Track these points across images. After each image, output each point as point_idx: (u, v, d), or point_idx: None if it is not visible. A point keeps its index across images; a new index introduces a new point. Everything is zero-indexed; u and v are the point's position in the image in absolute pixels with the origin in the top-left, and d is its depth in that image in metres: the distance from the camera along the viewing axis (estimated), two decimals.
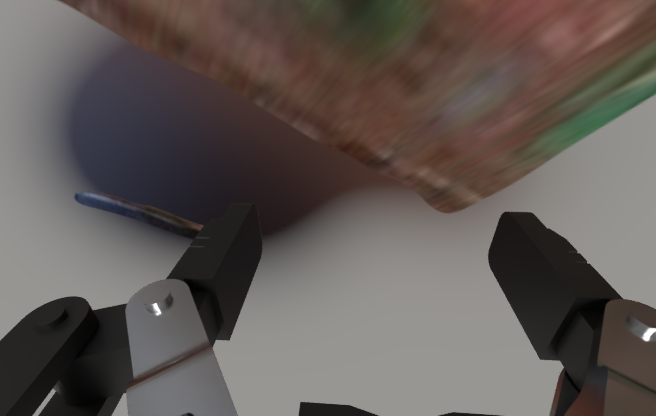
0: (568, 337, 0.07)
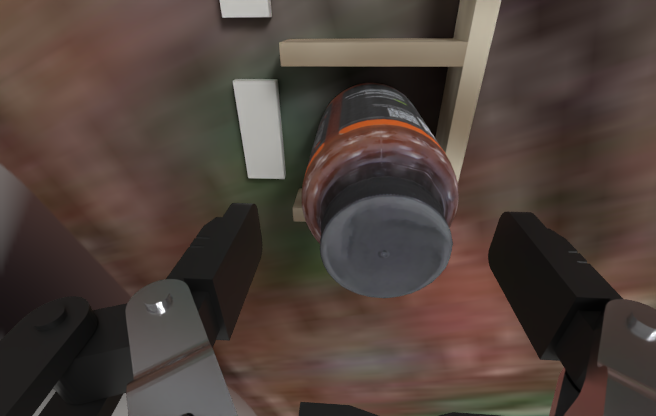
0: (568, 337, 0.07)
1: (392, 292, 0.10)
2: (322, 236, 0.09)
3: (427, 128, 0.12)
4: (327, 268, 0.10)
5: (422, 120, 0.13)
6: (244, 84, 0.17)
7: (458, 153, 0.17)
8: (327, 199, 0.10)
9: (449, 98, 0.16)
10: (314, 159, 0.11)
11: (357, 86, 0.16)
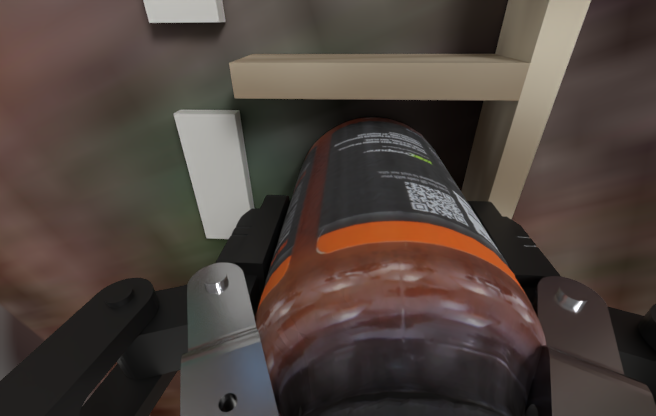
0: None
1: None
2: None
3: (474, 217, 0.07)
4: None
5: (459, 192, 0.08)
6: (191, 117, 0.12)
7: None
8: (290, 397, 0.05)
9: (488, 142, 0.11)
10: (270, 295, 0.06)
11: (353, 124, 0.11)
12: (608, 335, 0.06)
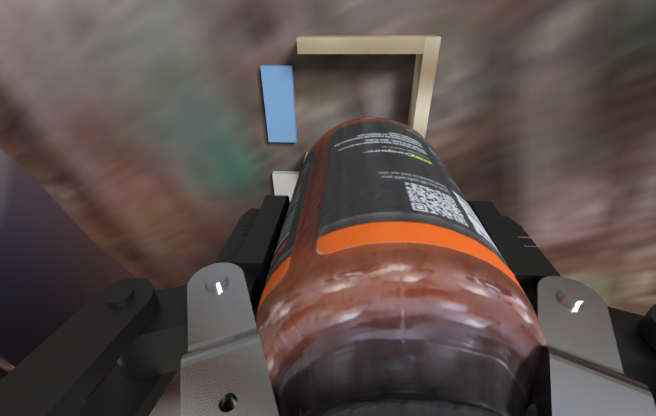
0: None
1: None
2: None
3: (474, 218, 0.07)
4: None
5: (459, 193, 0.08)
6: None
7: None
8: (290, 397, 0.05)
9: None
10: (270, 295, 0.06)
11: (353, 124, 0.11)
12: (608, 335, 0.06)
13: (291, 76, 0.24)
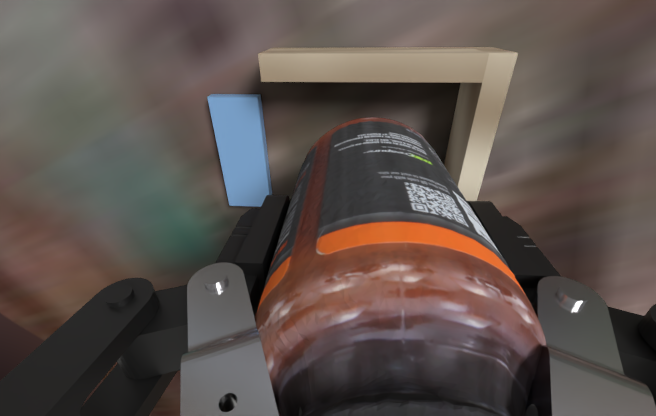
0: None
1: None
2: None
3: (474, 218, 0.07)
4: None
5: (459, 193, 0.08)
6: None
7: None
8: (290, 397, 0.05)
9: None
10: (269, 295, 0.06)
11: (353, 124, 0.11)
12: (608, 335, 0.06)
13: (258, 112, 0.15)
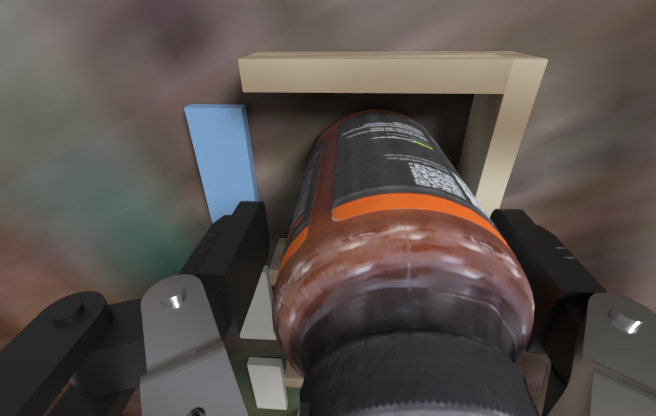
0: (554, 330, 0.07)
1: None
2: None
3: (471, 195, 0.08)
4: None
5: (458, 175, 0.09)
6: (256, 366, 0.22)
7: None
8: (311, 342, 0.06)
9: None
10: (290, 259, 0.07)
11: (358, 115, 0.12)
12: None
13: (242, 125, 0.13)
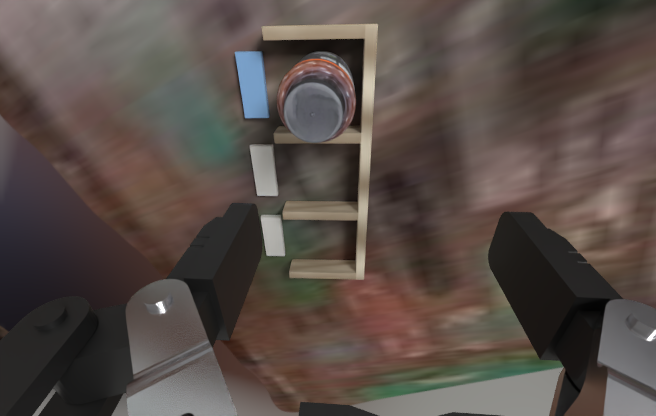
0: (568, 337, 0.07)
1: (319, 138, 0.21)
2: (284, 106, 0.20)
3: (342, 66, 0.24)
4: (287, 125, 0.21)
5: (343, 65, 0.25)
6: (266, 218, 0.38)
7: (362, 250, 0.37)
8: (287, 96, 0.22)
9: (357, 226, 0.37)
10: (282, 79, 0.22)
11: (312, 52, 0.28)
12: None
13: (261, 60, 0.29)
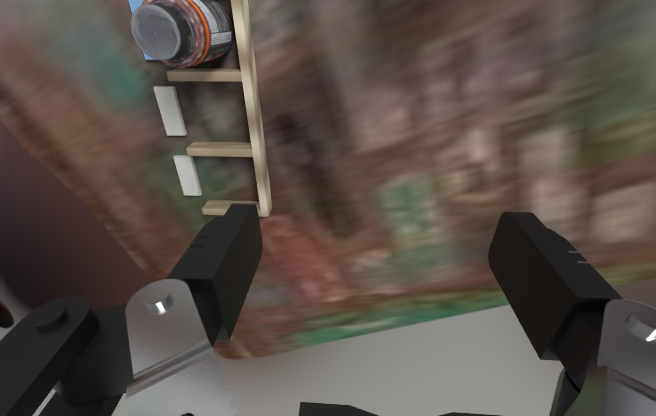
0: (568, 337, 0.07)
1: (165, 55, 0.26)
2: None
3: (198, 2, 0.28)
4: (137, 43, 0.25)
5: (204, 3, 0.29)
6: (178, 158, 0.42)
7: (262, 186, 0.42)
8: None
9: None
10: None
11: None
12: None
13: None
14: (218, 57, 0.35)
